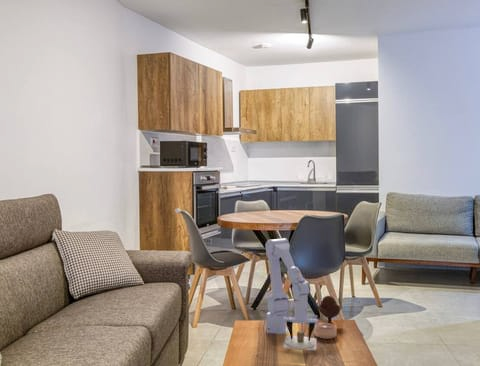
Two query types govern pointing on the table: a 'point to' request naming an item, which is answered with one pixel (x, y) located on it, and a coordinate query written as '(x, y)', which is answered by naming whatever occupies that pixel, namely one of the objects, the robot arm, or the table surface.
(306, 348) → the mat
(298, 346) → the lid
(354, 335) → the table surface
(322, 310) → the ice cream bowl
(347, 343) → the table surface
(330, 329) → the bowl
